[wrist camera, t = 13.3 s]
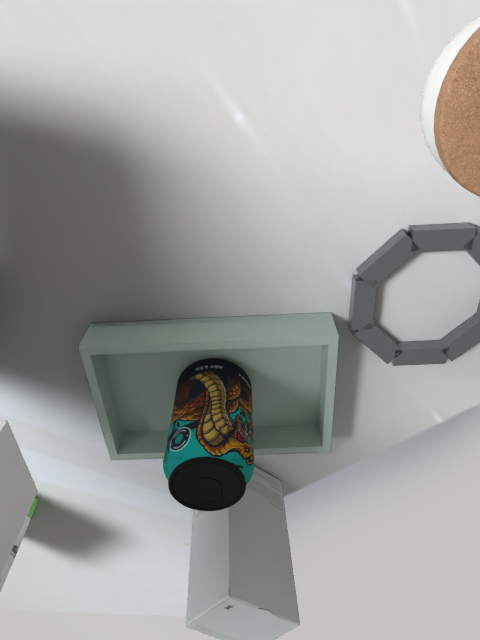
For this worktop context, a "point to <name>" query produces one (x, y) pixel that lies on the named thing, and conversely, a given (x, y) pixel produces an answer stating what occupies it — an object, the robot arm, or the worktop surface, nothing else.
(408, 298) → the worktop surface
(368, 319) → the socket collar
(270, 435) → the tray bin
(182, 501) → the beverage can
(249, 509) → the skincare box
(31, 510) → the ink box
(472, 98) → the lidded jar
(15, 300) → the worktop surface
